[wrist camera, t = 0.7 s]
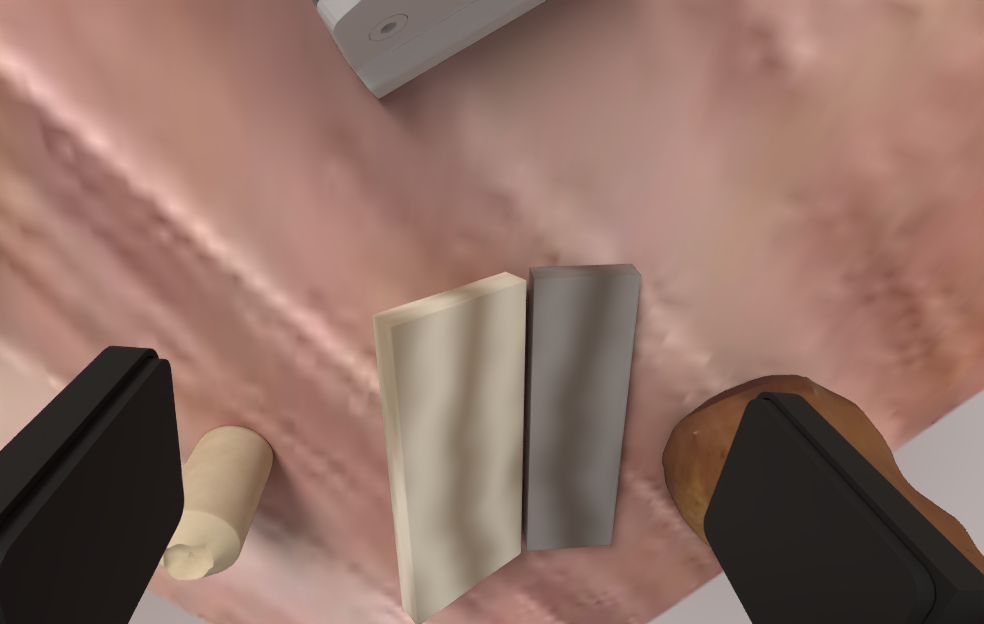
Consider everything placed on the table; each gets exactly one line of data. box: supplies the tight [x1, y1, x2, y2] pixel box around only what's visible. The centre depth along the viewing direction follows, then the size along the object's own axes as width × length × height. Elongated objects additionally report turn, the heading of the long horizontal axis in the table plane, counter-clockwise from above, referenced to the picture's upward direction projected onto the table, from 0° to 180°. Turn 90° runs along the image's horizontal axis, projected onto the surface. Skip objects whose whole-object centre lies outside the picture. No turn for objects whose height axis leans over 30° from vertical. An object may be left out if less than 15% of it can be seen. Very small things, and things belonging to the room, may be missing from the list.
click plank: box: [372, 272, 526, 624], centre depth 40 cm, size 10×24×2 cm
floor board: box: [524, 264, 641, 551], centre depth 44 cm, size 7×24×2 cm, turn 0°
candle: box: [159, 426, 273, 581], centre depth 39 cm, size 6×6×10 cm
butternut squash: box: [662, 375, 984, 574], centre depth 35 cm, size 14×13×25 cm
